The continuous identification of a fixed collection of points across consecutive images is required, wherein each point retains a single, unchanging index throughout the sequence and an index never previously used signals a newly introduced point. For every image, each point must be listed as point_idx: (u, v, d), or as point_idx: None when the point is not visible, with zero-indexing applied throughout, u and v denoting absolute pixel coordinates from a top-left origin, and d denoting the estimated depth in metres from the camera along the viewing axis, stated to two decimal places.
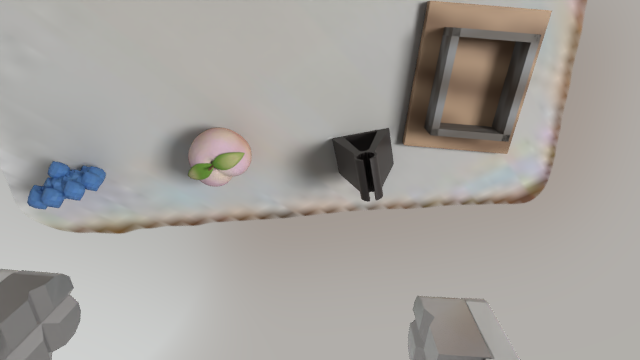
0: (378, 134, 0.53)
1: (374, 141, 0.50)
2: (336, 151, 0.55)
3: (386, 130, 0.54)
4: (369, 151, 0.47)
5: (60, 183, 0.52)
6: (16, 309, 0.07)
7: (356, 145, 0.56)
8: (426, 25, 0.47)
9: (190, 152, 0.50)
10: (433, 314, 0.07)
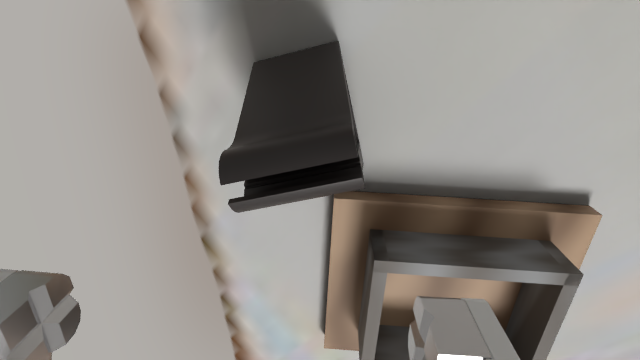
0: (360, 150, 0.24)
1: (359, 151, 0.21)
2: (311, 53, 0.23)
3: None
4: (359, 157, 0.17)
5: None
6: (16, 309, 0.07)
7: None
8: (560, 213, 0.26)
9: None
10: (433, 314, 0.07)
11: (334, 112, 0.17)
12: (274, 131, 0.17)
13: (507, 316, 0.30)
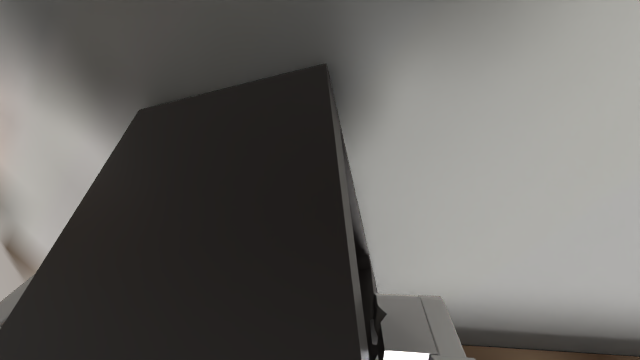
0: None
1: None
2: (261, 93, 0.10)
3: None
4: None
5: None
6: None
7: None
8: None
9: None
10: (386, 311, 0.07)
11: None
12: None
13: None
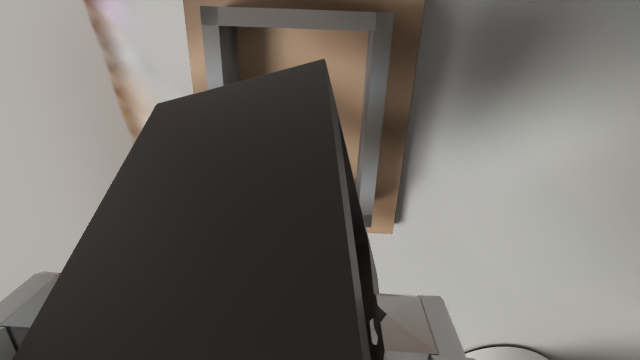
0: (373, 276, 0.12)
1: None
2: (267, 86, 0.11)
3: (376, 278, 0.14)
4: None
5: None
6: None
7: None
8: (395, 202, 0.29)
9: None
10: (386, 311, 0.07)
11: (305, 318, 0.05)
12: None
13: None
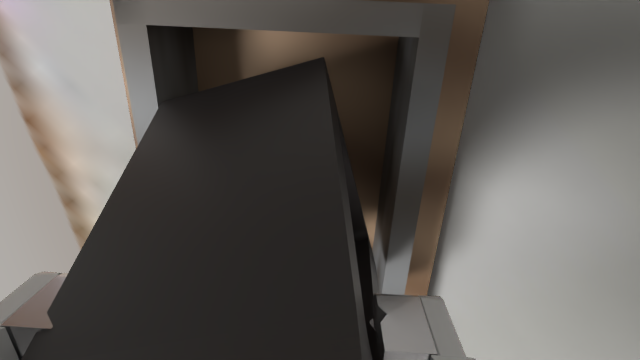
0: (372, 267, 0.12)
1: None
2: (268, 83, 0.11)
3: (375, 271, 0.14)
4: None
5: None
6: None
7: None
8: (427, 280, 0.20)
9: None
10: (386, 311, 0.07)
11: (306, 296, 0.05)
12: (123, 358, 0.06)
13: None
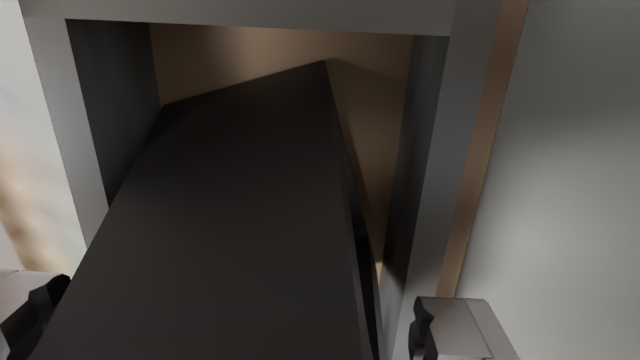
0: (372, 267, 0.12)
1: (375, 303, 0.10)
2: (269, 86, 0.11)
3: (376, 270, 0.14)
4: None
5: None
6: (16, 309, 0.07)
7: None
8: None
9: None
10: (433, 314, 0.07)
11: (307, 293, 0.06)
12: (130, 354, 0.06)
13: None
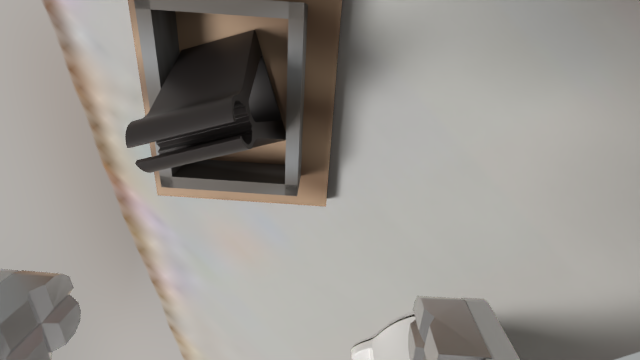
0: (277, 126, 0.27)
1: (268, 125, 0.24)
2: (229, 40, 0.26)
3: (284, 136, 0.29)
4: (252, 126, 0.21)
5: None
6: (16, 309, 0.07)
7: None
8: (326, 177, 0.32)
9: None
10: (433, 314, 0.07)
11: (230, 88, 0.20)
12: (180, 105, 0.20)
13: None
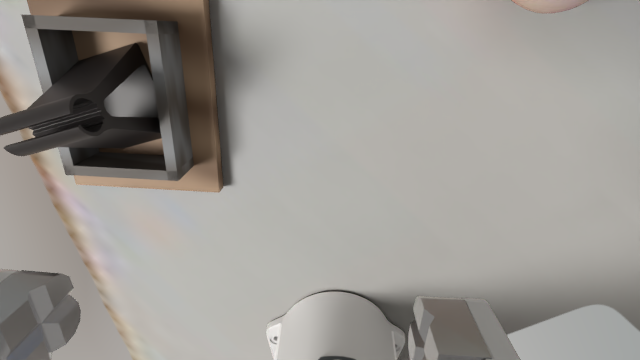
0: (158, 122, 0.33)
1: (138, 120, 0.30)
2: (113, 52, 0.31)
3: None
4: (105, 119, 0.26)
5: None
6: (16, 309, 0.07)
7: (136, 85, 0.33)
8: (216, 166, 0.37)
9: None
10: (433, 314, 0.07)
11: (87, 89, 0.26)
12: None
13: (118, 150, 0.37)
